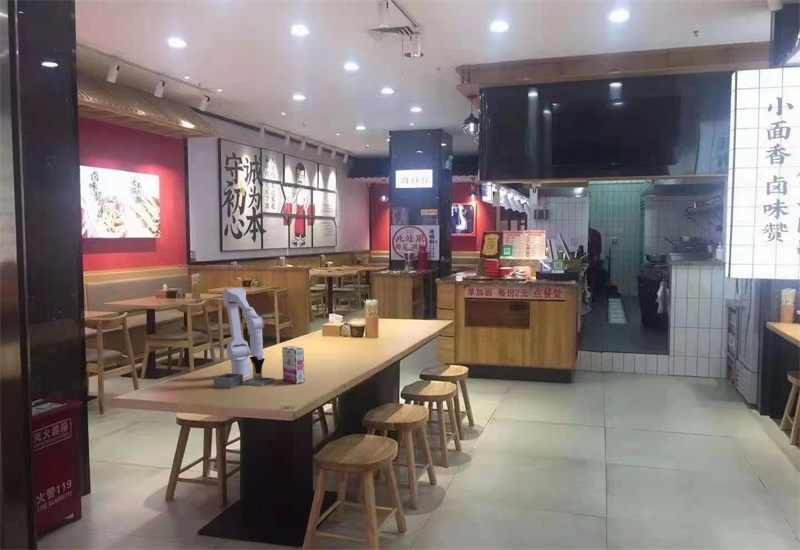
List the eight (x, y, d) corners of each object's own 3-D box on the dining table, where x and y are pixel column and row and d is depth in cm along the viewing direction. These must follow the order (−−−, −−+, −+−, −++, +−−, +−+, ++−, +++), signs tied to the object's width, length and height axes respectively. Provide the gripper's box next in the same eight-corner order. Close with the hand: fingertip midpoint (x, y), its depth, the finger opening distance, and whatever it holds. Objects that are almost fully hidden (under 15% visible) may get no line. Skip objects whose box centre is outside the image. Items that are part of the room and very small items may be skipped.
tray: (254, 380, 294) (254, 376, 293) (274, 381, 290) (274, 378, 290) (241, 385, 283) (241, 382, 283) (261, 387, 279) (261, 383, 279)
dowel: (256, 376, 289) (255, 361, 288) (263, 376, 287) (263, 361, 287) (251, 378, 285) (250, 363, 285) (258, 378, 284) (258, 363, 283)
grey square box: (226, 383, 289) (226, 373, 288) (243, 384, 285) (242, 374, 285) (214, 388, 280) (213, 377, 280) (231, 389, 277) (230, 378, 277)
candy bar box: (305, 382, 287) (304, 347, 286) (296, 384, 283) (295, 349, 282) (291, 379, 294) (290, 345, 294) (282, 381, 291) (281, 346, 290)
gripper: (244, 342, 290) (246, 370, 291) (250, 346, 277) (251, 376, 278) (259, 340, 293) (261, 368, 294) (266, 345, 280) (267, 374, 281)
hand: (257, 372), depth 286 cm, fingers closed on dowel, 4 cm apart
